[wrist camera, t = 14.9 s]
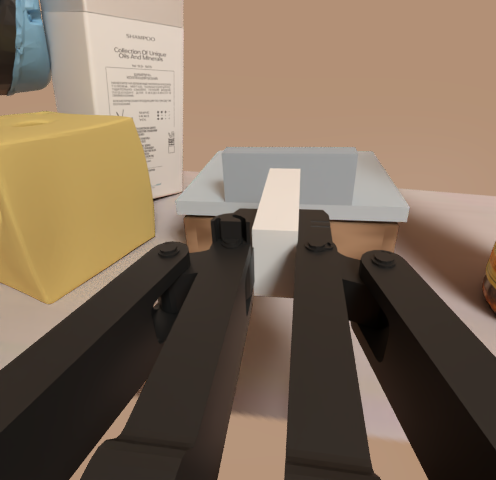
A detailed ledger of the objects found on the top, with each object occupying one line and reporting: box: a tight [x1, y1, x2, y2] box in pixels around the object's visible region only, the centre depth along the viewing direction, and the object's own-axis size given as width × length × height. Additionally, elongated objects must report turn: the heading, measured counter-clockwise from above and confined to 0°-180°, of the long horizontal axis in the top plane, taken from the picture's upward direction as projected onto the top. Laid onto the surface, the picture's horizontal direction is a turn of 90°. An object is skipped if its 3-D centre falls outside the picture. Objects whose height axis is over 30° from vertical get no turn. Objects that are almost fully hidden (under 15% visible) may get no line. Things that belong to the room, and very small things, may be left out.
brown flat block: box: [184, 215, 399, 260], centre depth 28 cm, size 14×13×4 cm
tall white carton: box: [40, 0, 184, 199], centre depth 31 cm, size 9×9×25 cm
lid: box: [175, 147, 410, 222], centre depth 26 cm, size 15×13×4 cm
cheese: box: [0, 111, 155, 304], centre depth 24 cm, size 10×11×10 cm
